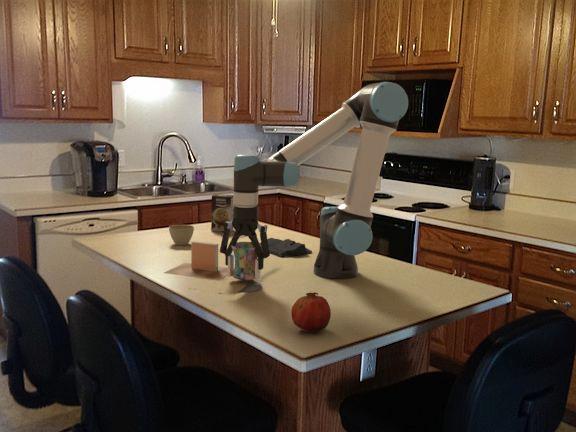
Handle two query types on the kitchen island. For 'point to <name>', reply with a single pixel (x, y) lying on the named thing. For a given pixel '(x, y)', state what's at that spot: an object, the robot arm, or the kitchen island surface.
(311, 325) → the fruit
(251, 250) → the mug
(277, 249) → the dark slate chunk
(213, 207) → the coffee box
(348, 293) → the kitchen island surface
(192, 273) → the board
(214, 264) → the tile
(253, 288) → the coaster
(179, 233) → the flower pot
